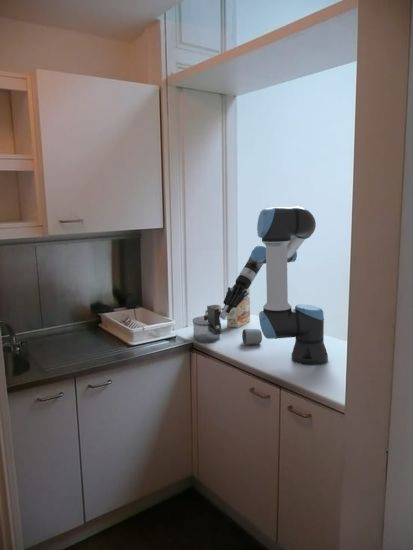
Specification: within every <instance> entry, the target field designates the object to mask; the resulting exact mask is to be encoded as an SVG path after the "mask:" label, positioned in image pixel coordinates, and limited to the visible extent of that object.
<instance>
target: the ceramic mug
mask: <svg viewBox="0 0 413 550" xmlns="http://www.w3.org/2000/svg"><path fill="white" fill-rule="evenodd" d="M262 335H263V332H262V330H261V329H259V328H244V329H243V330H242V333H241V338H242V343H243V345H244V346H251V345H259V344H261V343H262V340H263V336H262Z"/></svg>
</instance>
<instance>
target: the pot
mask: <svg viewBox="0 0 413 550" xmlns="http://www.w3.org/2000/svg"><path fill="white" fill-rule="evenodd" d="M192 324H193V325H192V326H193V341H194V340H195V341H194V342H196V343H199V342H200V343H199V344H212V343H216V342H218V341H220V340H221V337H220V335H222V332H221V331H222V328H221V329H220V328H219V326H214V325H197V324H194V323H193V322H192Z"/></svg>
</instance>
